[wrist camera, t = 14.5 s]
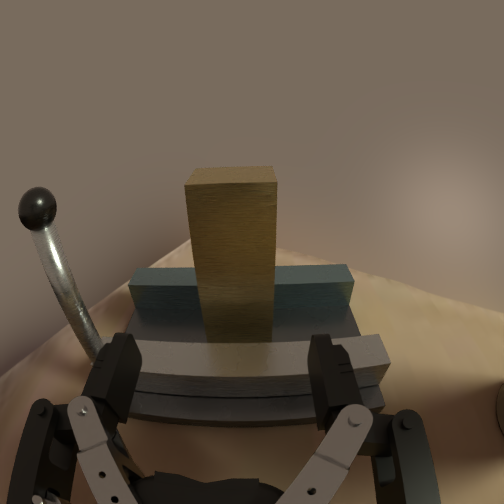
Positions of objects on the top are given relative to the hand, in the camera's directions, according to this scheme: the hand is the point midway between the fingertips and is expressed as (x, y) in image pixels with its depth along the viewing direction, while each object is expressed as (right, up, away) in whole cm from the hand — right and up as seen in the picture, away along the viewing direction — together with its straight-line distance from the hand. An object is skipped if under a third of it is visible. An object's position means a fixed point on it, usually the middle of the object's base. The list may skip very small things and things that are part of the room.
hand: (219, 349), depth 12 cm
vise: (0, -4, +14) cm, 14 cm away
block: (0, -3, +13) cm, 14 cm away
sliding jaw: (0, -6, +8) cm, 10 cm away
